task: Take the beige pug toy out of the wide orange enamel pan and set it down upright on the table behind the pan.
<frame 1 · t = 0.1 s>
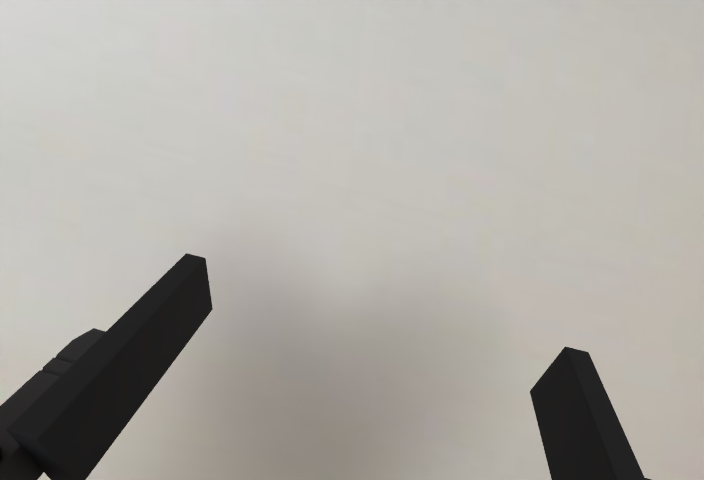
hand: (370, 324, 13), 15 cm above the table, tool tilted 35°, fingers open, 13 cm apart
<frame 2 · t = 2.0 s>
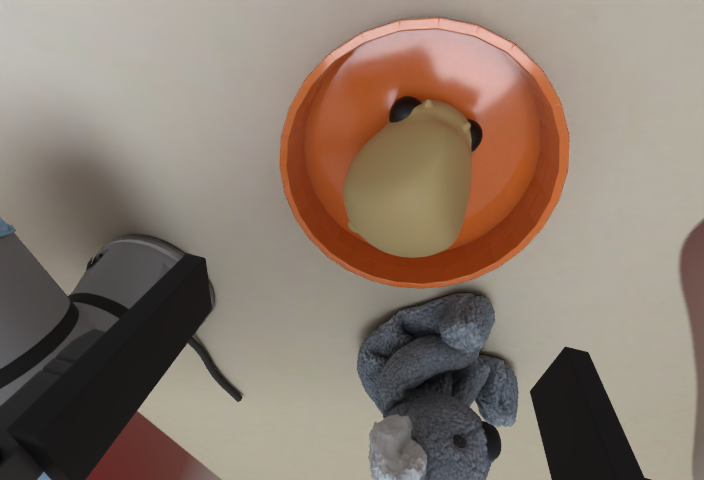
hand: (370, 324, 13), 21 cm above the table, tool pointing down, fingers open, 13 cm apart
koala plush: (428, 344, 43), on the table
pan: (414, 159, 30), on the table
beige pug toy: (414, 160, 30), resting on pan
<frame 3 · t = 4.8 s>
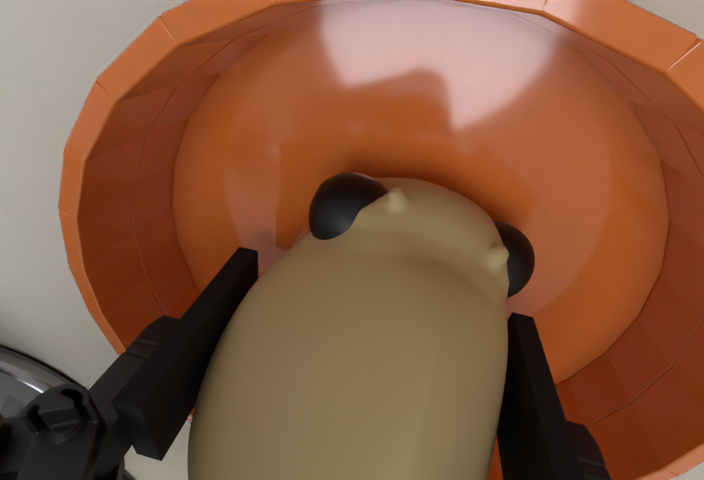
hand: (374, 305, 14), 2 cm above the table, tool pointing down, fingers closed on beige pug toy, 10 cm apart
pan: (386, 273, 15), on the table
beige pug toy: (385, 275, 15), resting on pan, touching gripper
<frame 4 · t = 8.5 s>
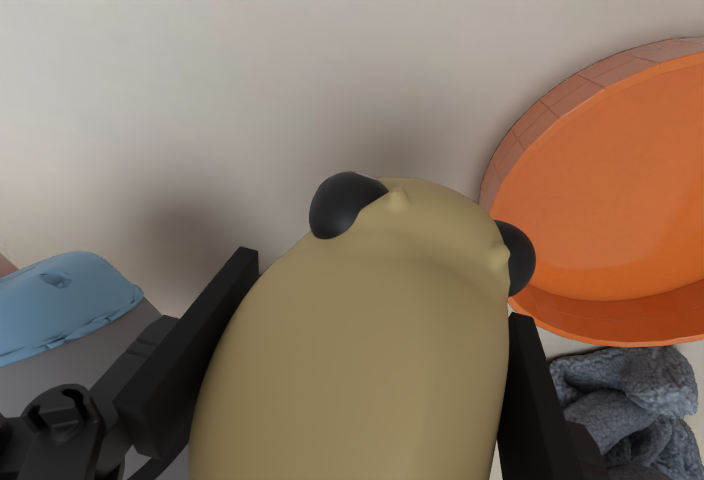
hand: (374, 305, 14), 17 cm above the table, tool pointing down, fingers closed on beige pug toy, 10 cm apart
koala plush: (579, 392, 39), on the table
pan: (627, 199, 26), on the table
beige pug toy: (386, 274, 15), point 15 cm above the table, touching gripper
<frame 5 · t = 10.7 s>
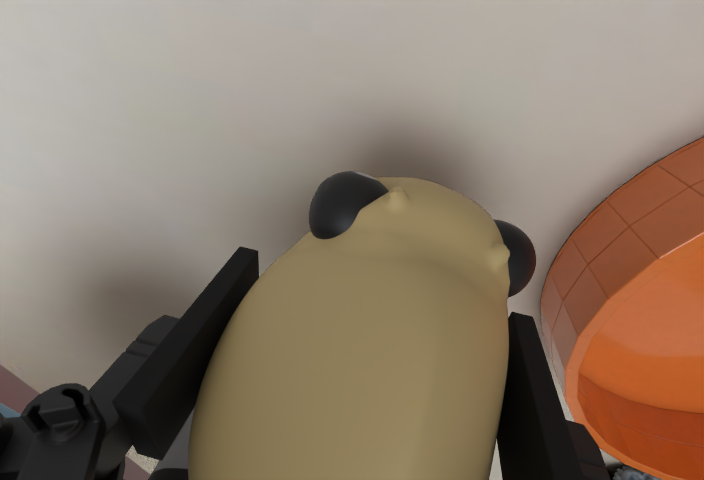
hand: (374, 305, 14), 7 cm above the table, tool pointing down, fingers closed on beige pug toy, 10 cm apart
beige pug toy: (386, 274, 15), point 5 cm above the table, touching gripper
when the fingers open (2 cm above the table, at t = 12.6 s): beige pug toy stays where it is, on the table.
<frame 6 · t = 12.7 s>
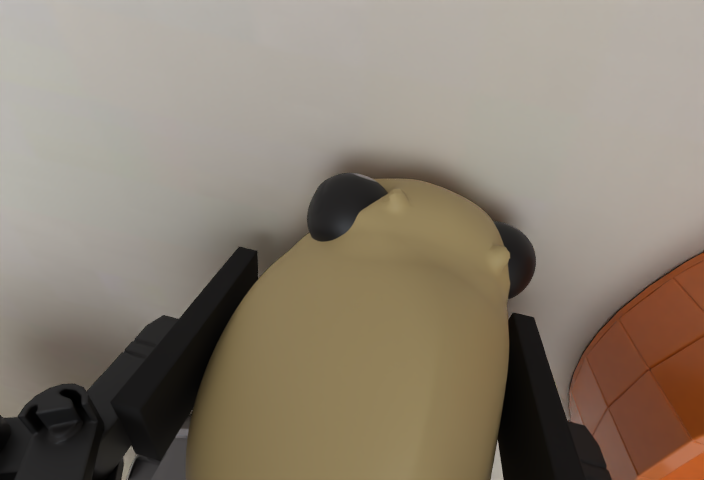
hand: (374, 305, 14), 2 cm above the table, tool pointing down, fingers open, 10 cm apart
beige pug toy: (385, 276, 15), on the table
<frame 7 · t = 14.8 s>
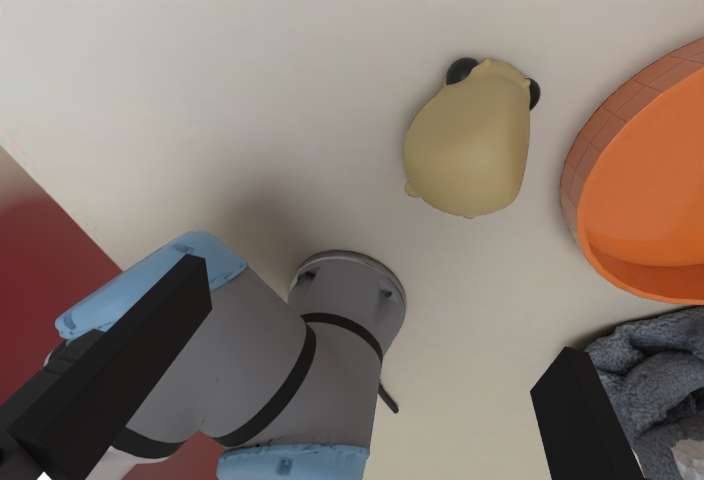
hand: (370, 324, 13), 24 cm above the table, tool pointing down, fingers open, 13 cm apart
koala plush: (639, 358, 41), on the table
pan: (703, 169, 29), on the table
beige pug toy: (466, 125, 31), on the table
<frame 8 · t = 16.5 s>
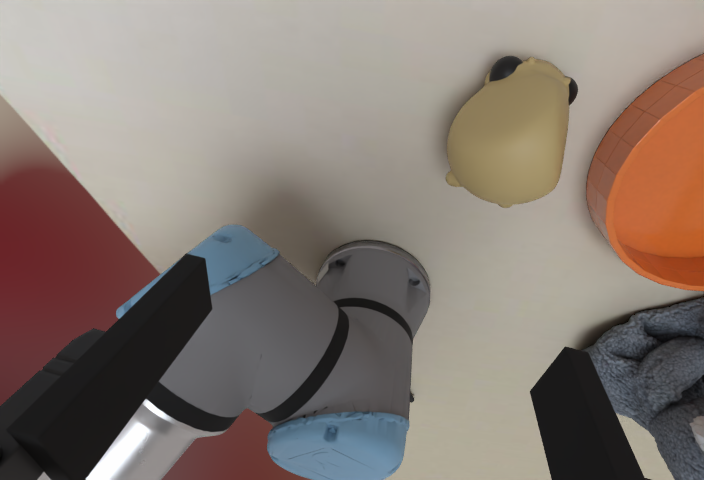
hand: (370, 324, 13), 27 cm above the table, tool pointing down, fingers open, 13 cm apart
koala plush: (650, 346, 44), on the table
beige pug toy: (501, 121, 33), on the table
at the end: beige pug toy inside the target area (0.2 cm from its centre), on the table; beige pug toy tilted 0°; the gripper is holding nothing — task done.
